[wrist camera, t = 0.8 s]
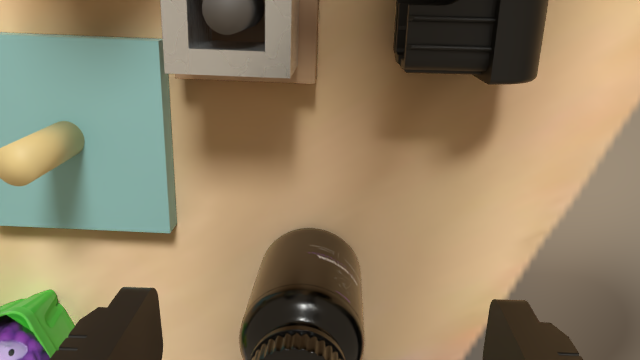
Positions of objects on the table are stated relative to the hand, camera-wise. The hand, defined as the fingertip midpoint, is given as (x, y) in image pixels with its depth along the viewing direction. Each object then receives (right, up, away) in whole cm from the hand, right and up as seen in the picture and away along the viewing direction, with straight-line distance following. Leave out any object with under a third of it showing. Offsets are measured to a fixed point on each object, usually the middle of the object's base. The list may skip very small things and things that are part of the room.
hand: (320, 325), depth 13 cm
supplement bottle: (-1, -3, +24) cm, 24 cm away
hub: (-15, +6, +21) cm, 27 cm away
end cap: (+8, +15, +18) cm, 24 cm away
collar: (-4, +13, +16) cm, 21 cm away
